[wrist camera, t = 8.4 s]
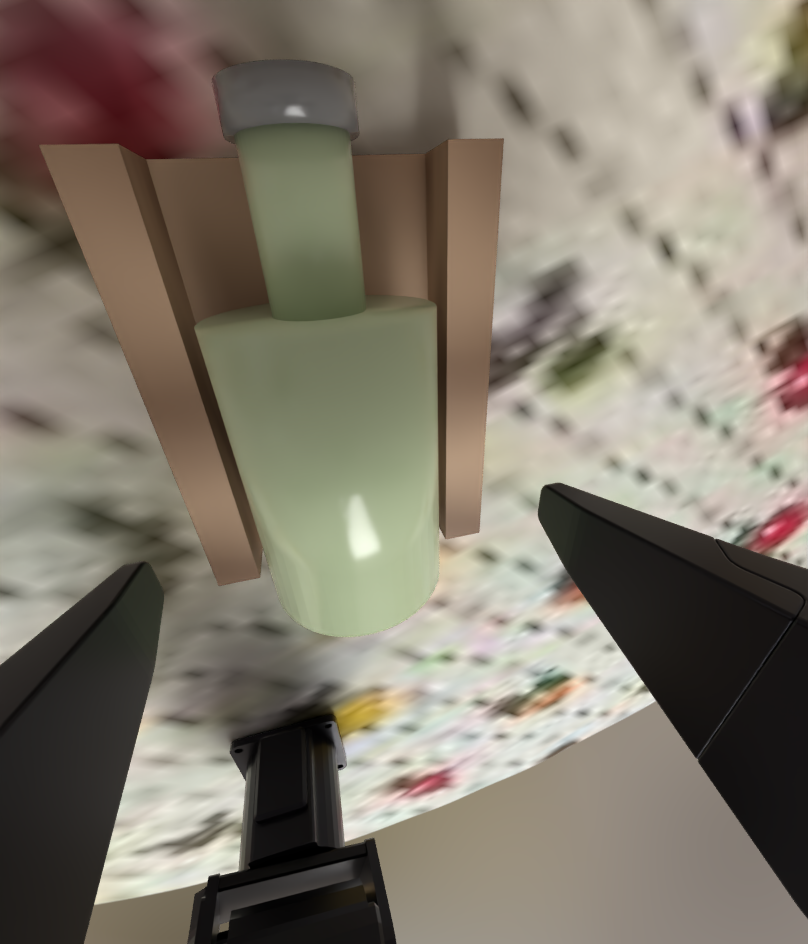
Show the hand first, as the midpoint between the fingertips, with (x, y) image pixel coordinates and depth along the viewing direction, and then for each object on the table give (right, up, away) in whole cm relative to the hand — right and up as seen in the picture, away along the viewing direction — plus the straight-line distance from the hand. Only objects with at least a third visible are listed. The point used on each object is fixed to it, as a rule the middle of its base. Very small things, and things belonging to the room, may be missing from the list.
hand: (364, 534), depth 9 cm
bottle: (-2, +5, +5) cm, 7 cm away
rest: (-2, +5, +6) cm, 8 cm away
